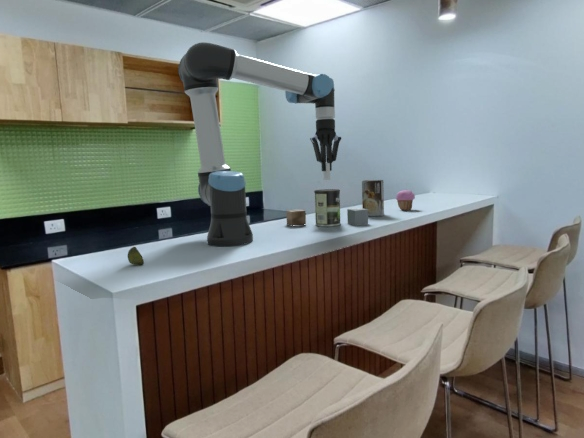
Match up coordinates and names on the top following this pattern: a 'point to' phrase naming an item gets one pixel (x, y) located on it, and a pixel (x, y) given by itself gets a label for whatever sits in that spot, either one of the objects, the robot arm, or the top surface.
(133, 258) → the lime
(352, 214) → the slate block
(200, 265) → the top surface
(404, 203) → the cupcake
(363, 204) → the coffee box
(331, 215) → the coffee can
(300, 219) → the walnut block
